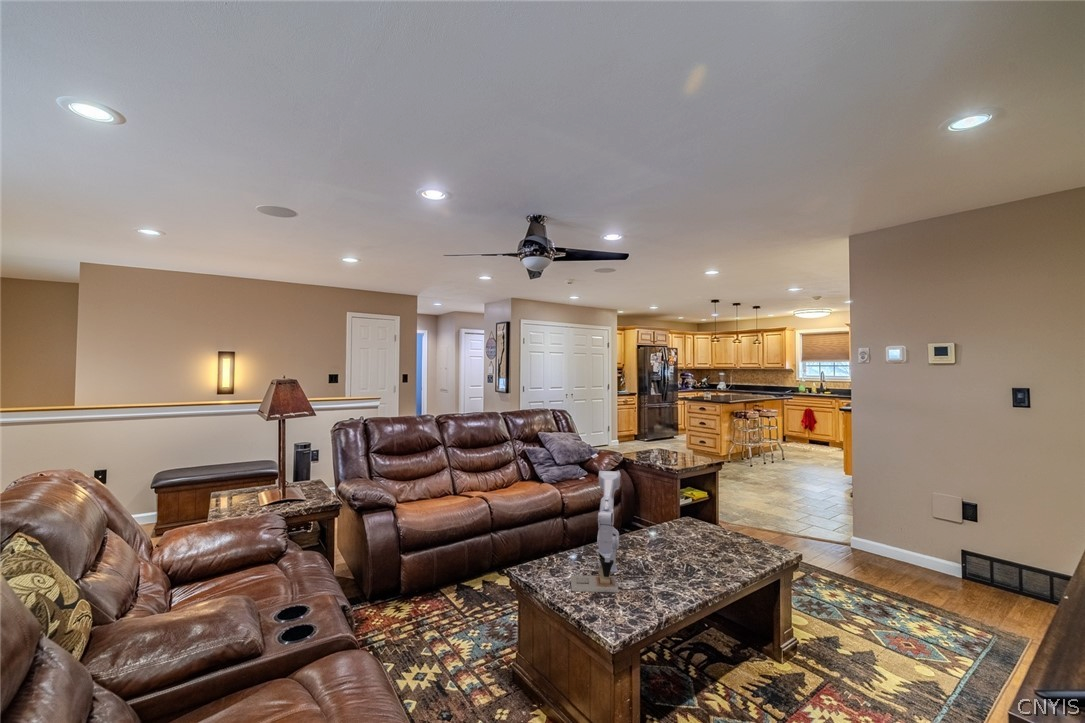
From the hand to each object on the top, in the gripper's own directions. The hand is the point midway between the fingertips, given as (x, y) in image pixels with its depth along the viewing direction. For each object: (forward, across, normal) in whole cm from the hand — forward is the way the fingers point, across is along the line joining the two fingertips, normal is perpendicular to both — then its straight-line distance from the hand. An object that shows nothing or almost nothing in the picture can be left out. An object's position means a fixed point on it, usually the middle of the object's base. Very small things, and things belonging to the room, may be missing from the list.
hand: (605, 572), depth 189 cm
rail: (+6, 0, -5) cm, 7 cm away
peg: (+6, 0, 0) cm, 6 cm away
